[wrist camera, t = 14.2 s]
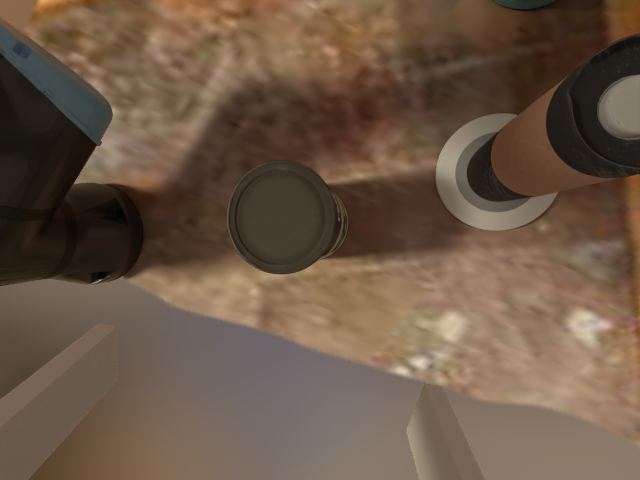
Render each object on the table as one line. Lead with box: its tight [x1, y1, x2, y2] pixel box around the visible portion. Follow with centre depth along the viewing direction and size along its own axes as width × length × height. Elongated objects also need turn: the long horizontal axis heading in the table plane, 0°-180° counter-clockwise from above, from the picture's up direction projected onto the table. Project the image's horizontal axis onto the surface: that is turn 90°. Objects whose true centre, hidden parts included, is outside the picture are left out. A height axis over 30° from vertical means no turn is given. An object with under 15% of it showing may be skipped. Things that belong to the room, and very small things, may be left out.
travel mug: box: [467, 33, 640, 202], centre depth 26 cm, size 8×8×20 cm
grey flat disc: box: [435, 113, 558, 231], centre depth 36 cm, size 14×14×1 cm
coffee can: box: [227, 160, 348, 274], centre depth 34 cm, size 10×10×14 cm
